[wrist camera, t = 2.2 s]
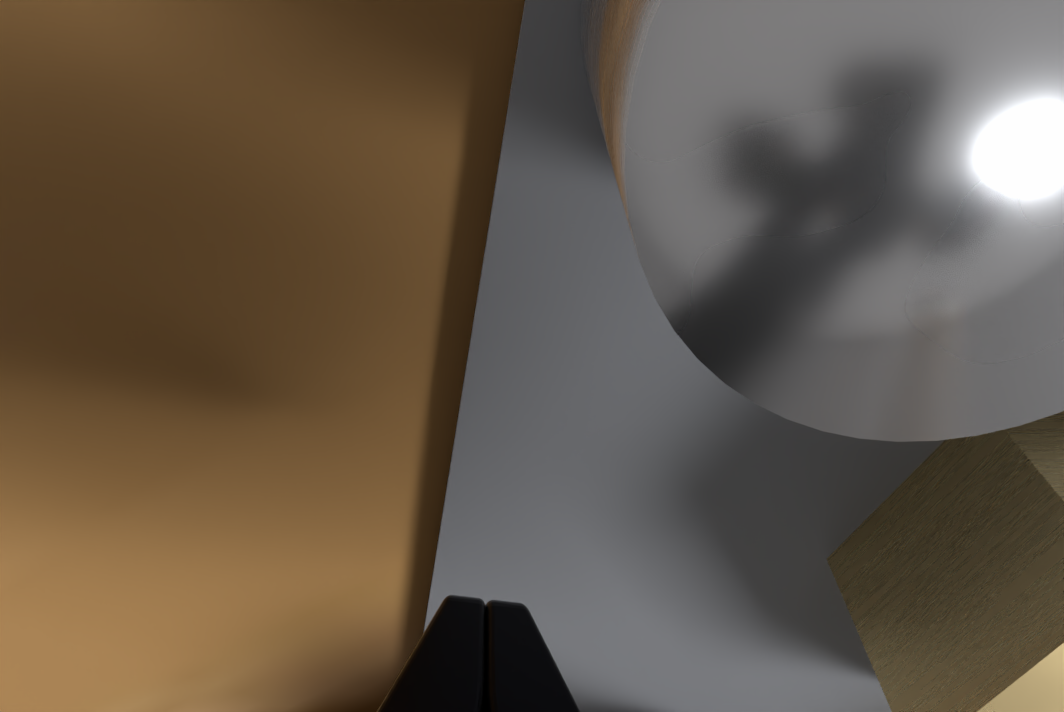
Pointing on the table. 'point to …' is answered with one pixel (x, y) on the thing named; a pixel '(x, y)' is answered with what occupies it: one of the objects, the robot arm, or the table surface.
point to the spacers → (848, 200)
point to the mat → (637, 453)
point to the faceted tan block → (966, 576)
